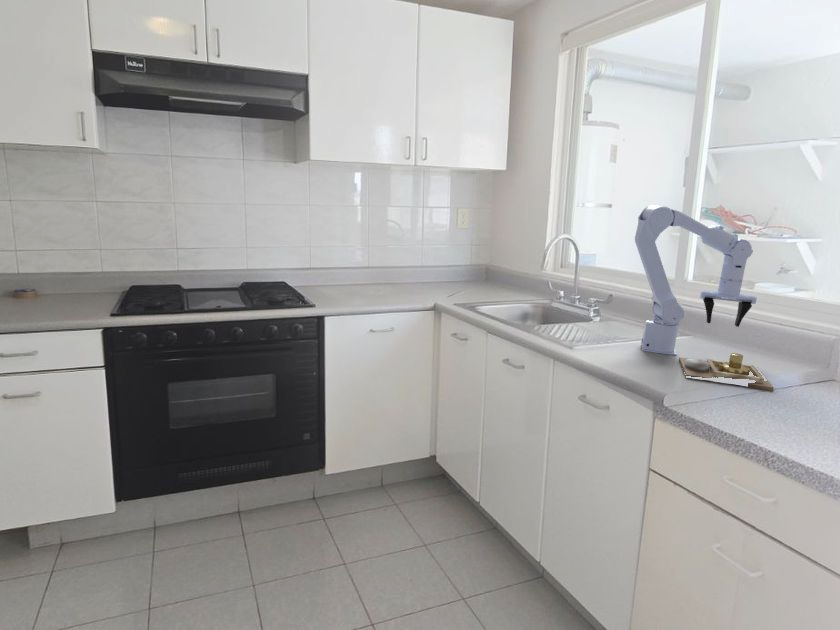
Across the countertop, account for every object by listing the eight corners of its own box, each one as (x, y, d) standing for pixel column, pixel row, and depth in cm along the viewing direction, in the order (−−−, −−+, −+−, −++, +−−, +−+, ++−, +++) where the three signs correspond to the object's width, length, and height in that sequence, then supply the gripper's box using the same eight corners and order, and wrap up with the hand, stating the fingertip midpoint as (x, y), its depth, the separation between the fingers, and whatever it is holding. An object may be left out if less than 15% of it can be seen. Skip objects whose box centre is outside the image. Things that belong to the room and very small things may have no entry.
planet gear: (720, 374, 145) (724, 356, 144) (716, 366, 152) (719, 349, 150) (751, 379, 143) (755, 360, 142) (745, 370, 149) (749, 353, 148)
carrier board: (685, 378, 144) (687, 369, 143) (678, 360, 158) (680, 352, 158) (772, 391, 138) (774, 381, 137) (757, 371, 152) (758, 362, 152)
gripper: (706, 278, 160) (697, 324, 163) (762, 284, 155) (753, 330, 159) (702, 275, 166) (694, 318, 169) (756, 280, 162) (747, 325, 165)
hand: (722, 324), depth 164 cm, fingers open, 7 cm apart
